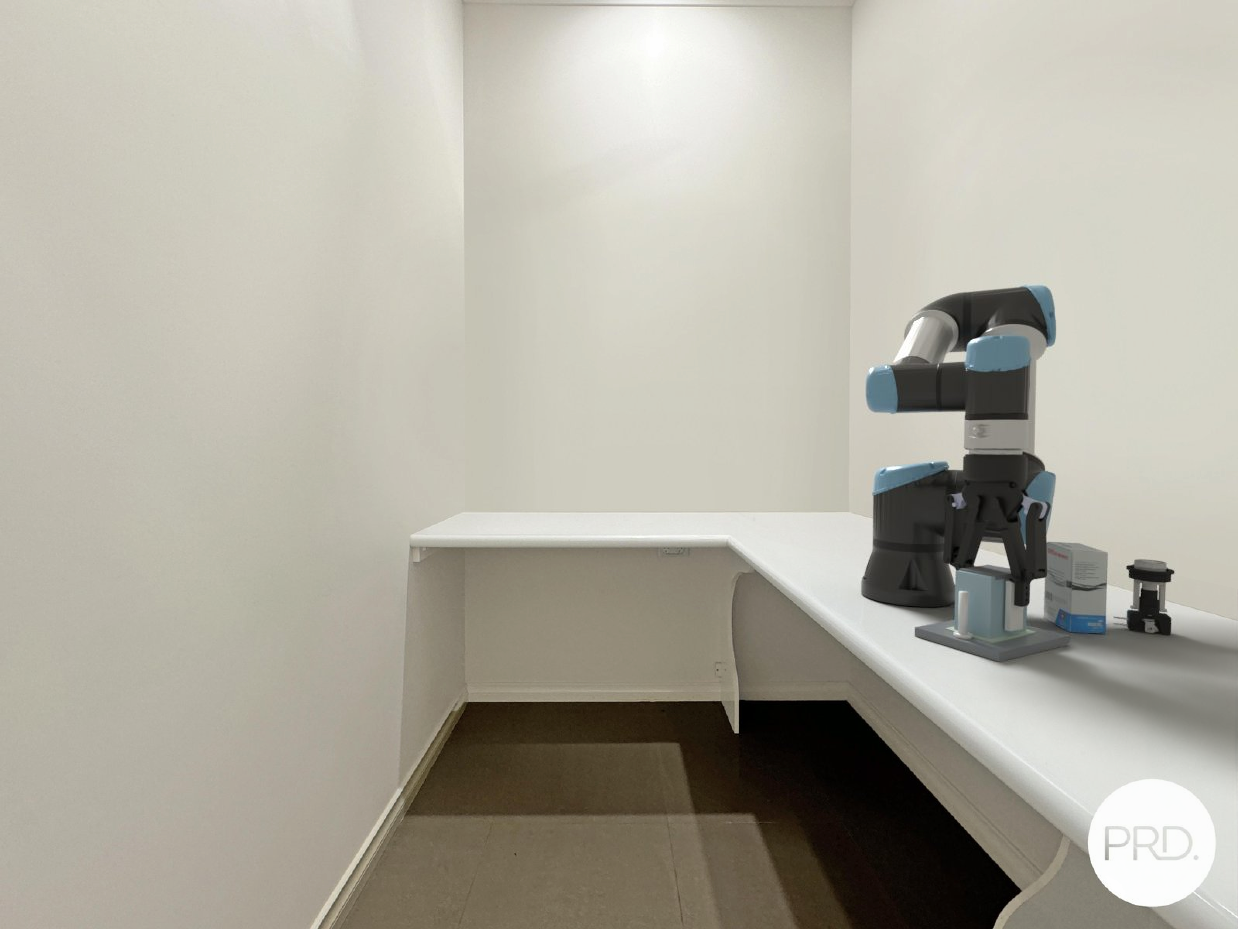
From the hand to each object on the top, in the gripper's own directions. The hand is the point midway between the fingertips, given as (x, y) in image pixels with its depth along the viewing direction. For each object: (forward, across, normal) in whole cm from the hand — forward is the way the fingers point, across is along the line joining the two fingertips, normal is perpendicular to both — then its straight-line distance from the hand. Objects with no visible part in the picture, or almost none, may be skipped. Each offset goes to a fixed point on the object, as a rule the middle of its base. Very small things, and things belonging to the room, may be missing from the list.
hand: (990, 623), depth 89 cm
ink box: (+3, +1, +18) cm, 18 cm away
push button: (+3, +7, +24) cm, 25 cm away
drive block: (+1, 0, 0) cm, 1 cm away
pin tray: (+2, 0, 0) cm, 2 cm away
